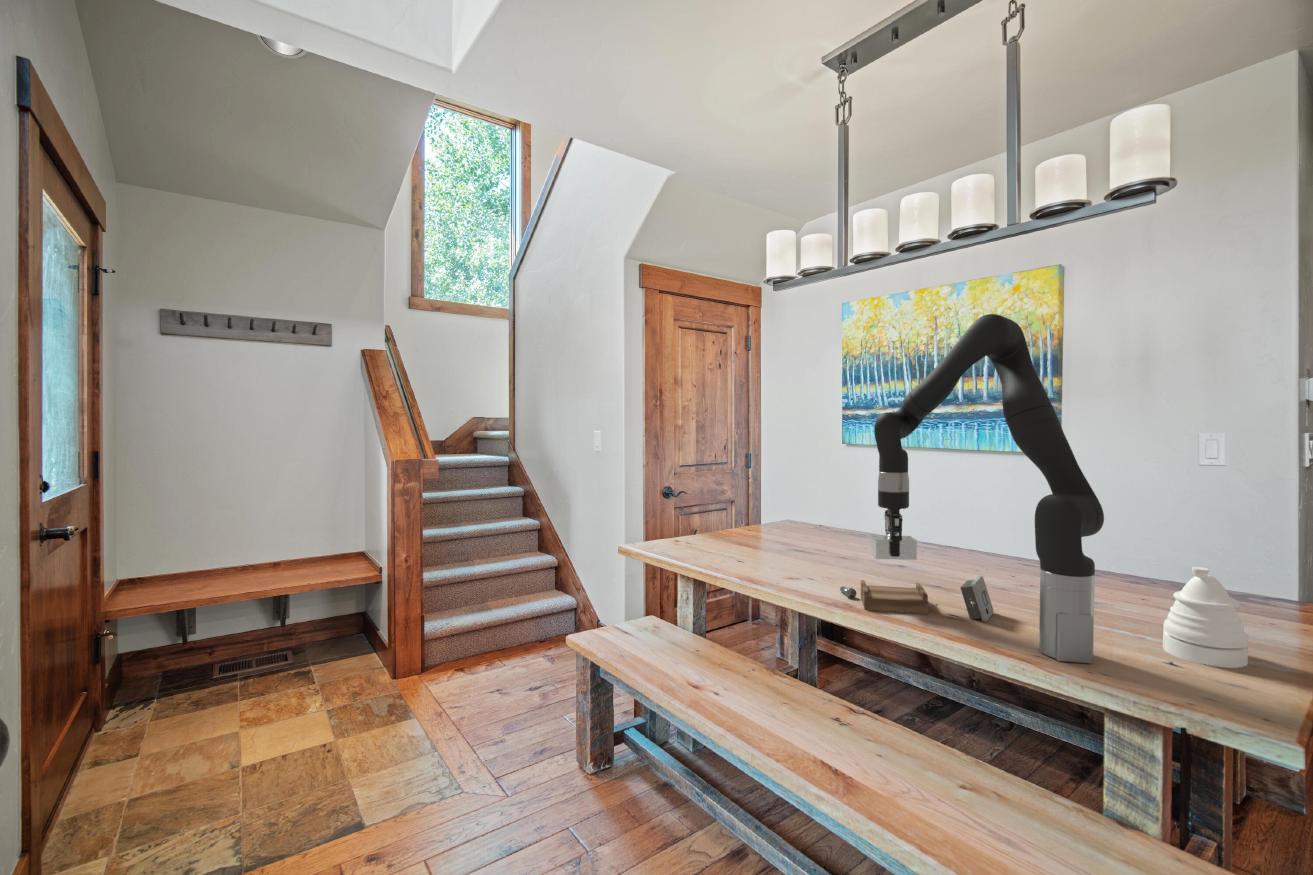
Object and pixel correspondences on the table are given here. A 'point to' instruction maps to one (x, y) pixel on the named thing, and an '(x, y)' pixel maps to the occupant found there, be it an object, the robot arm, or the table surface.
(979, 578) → the electrical switch
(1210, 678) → the table surface
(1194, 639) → the honey pot
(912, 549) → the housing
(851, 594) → the bolt
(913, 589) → the brown wooden tray
